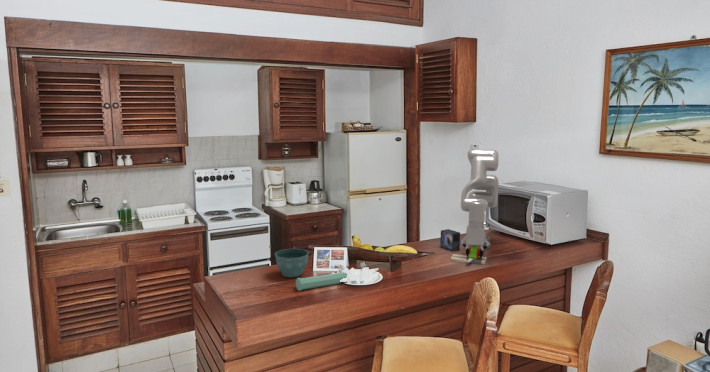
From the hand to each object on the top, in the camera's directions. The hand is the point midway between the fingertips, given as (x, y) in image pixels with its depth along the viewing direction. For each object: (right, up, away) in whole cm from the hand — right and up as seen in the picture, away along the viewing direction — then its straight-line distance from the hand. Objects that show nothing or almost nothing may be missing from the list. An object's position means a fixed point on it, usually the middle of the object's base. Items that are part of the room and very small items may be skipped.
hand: (474, 256), depth 269 cm
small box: (-9, +1, +25) cm, 26 cm away
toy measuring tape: (-1, -2, -1) cm, 2 cm away
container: (-79, -8, -41) cm, 89 cm away
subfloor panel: (-3, -2, +1) cm, 4 cm away
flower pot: (-95, -5, -26) cm, 99 cm away
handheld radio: (+8, -1, +19) cm, 21 cm away
